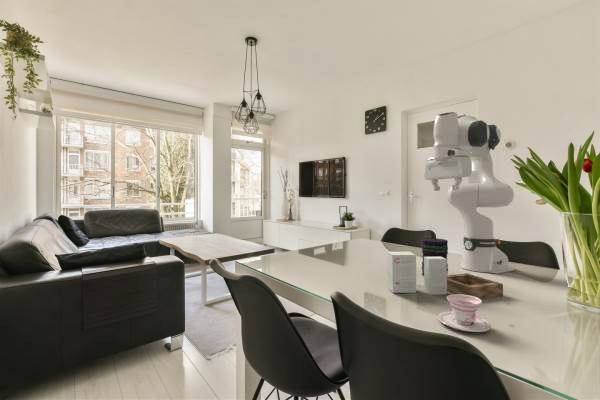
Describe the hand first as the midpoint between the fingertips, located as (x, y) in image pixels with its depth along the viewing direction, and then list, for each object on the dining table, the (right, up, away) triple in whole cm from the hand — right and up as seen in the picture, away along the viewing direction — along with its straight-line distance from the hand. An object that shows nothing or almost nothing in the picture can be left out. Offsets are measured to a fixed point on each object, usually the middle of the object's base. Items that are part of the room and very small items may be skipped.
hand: (445, 190), depth 111 cm
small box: (-21, -35, -10) cm, 42 cm away
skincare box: (-10, -35, -13) cm, 39 cm away
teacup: (-14, -36, -37) cm, 53 cm away
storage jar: (0, -35, +8) cm, 36 cm away
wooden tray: (+2, -35, -12) cm, 37 cm away
